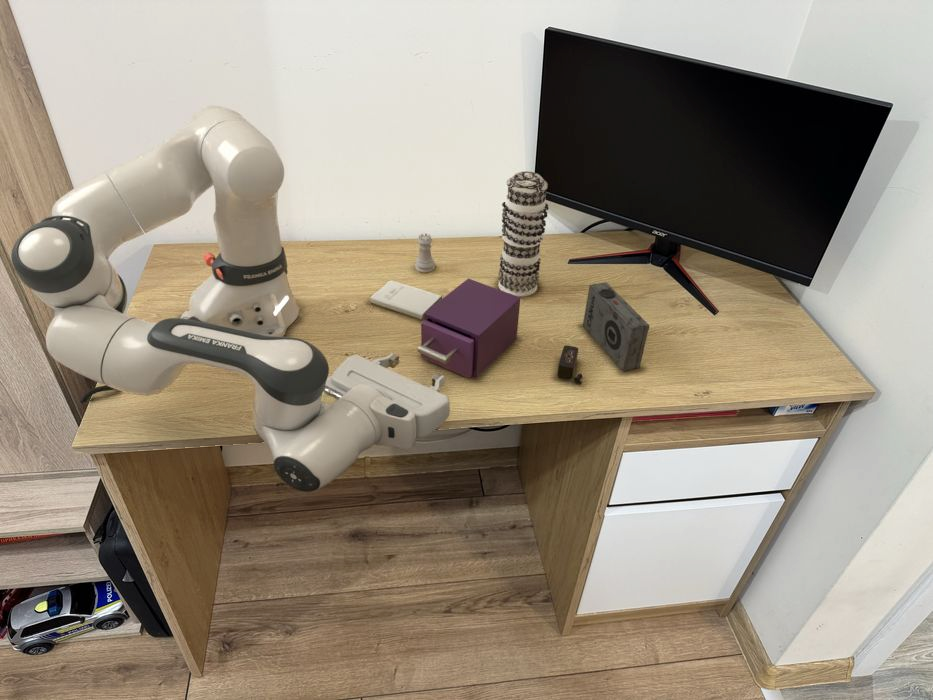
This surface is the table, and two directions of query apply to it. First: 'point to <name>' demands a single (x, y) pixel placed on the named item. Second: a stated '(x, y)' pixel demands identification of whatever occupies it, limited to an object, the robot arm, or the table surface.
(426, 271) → the rook chess piece
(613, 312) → the camera
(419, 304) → the hard drive
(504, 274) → the decorative candle
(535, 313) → the table surface
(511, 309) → the file cabinet
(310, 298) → the table surface
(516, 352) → the table surface
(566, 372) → the wireless earbuds
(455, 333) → the drawer
